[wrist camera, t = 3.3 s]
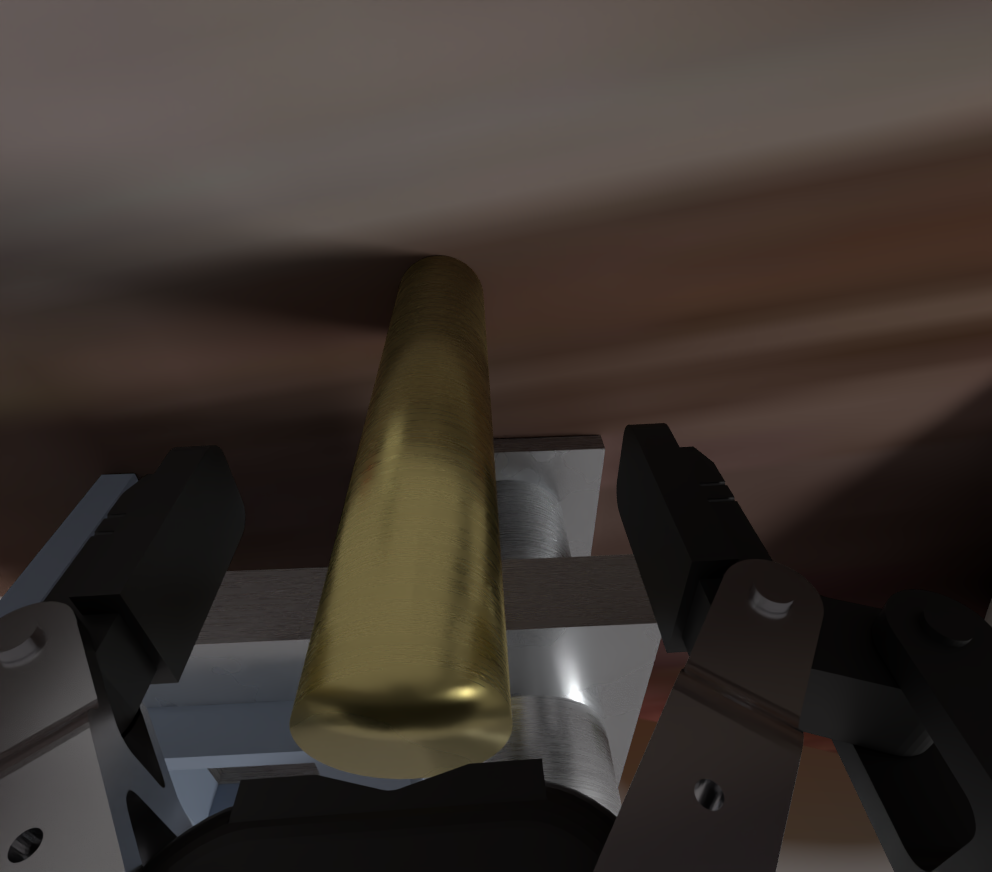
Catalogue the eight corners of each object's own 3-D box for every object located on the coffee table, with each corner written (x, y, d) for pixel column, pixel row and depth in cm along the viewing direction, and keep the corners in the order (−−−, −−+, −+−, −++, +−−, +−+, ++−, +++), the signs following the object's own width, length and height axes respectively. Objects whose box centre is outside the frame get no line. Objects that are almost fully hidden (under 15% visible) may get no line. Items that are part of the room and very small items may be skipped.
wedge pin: (393, 256, 16) (262, 676, 6) (482, 254, 16) (513, 664, 6) (403, 337, 18) (314, 784, 7) (484, 335, 18) (511, 773, 7)
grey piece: (188, 415, 19) (-209, 973, 8) (605, 401, 20) (795, 910, 8) (263, 597, 25) (100, 1062, 14) (581, 583, 25) (674, 1022, 14)
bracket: (101, 474, 20) (-142, 774, 12) (426, 462, 21) (401, 746, 13) (153, 564, 23) (-15, 853, 15) (436, 552, 24) (421, 828, 16)
